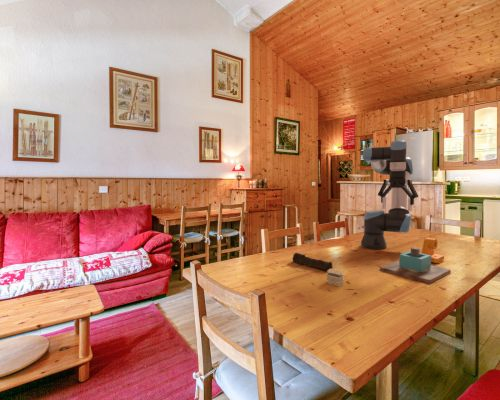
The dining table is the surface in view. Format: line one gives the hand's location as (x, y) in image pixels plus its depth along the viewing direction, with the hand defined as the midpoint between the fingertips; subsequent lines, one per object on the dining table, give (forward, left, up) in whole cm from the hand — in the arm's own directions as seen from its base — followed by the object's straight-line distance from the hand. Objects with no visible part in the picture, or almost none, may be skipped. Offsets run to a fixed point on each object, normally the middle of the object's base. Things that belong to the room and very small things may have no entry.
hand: (396, 209), depth 151 cm
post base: (+16, -12, -27) cm, 34 cm away
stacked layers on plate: (+2, -54, -28) cm, 61 cm away
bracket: (+14, +13, -27) cm, 33 cm away
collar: (+15, -12, -25) cm, 32 cm away
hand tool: (-20, -46, -28) cm, 57 cm away
